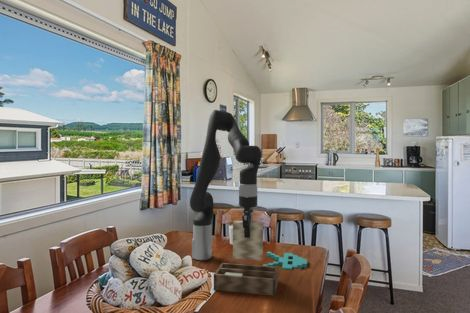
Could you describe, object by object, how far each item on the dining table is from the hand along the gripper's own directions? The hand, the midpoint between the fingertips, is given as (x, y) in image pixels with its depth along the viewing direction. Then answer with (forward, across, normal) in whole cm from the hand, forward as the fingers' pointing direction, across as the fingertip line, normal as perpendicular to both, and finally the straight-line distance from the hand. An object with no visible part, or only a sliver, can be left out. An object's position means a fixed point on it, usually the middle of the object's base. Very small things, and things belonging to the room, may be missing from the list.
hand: (247, 236), depth 135 cm
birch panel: (+9, 0, 0) cm, 9 cm away
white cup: (+21, -53, -16) cm, 59 cm away
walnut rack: (+20, +3, 0) cm, 20 cm away
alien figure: (+21, -27, +14) cm, 37 cm away
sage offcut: (+19, +6, -5) cm, 21 cm away
